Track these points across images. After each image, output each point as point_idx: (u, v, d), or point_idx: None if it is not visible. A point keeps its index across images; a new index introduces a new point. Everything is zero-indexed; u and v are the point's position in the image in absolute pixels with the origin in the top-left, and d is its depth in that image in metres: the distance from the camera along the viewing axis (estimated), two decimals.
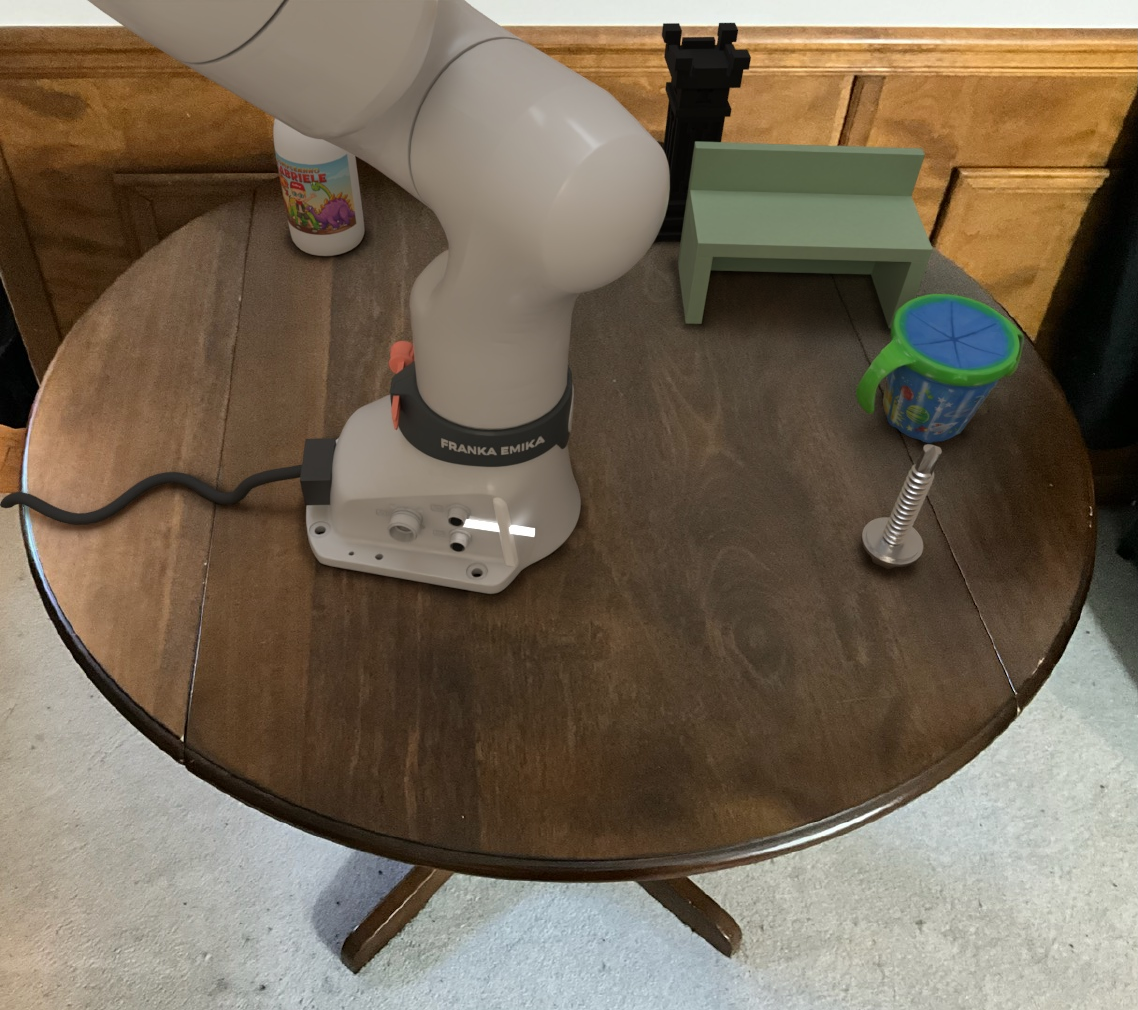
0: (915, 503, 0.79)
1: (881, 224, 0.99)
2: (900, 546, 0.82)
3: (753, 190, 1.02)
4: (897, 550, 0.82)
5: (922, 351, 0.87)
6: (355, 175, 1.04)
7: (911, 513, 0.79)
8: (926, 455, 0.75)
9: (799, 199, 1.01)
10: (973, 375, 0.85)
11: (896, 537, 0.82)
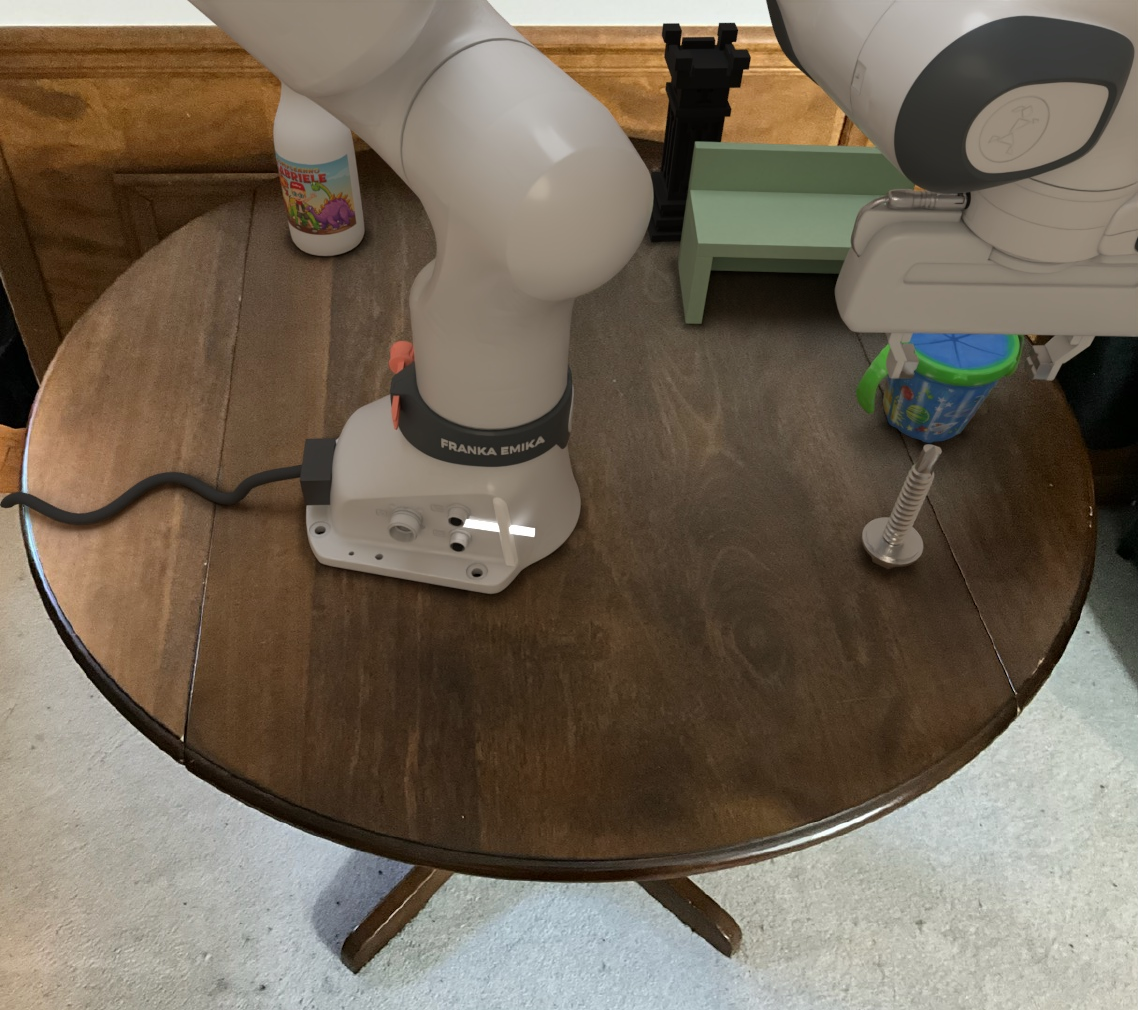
0: (915, 503, 0.79)
1: None
2: (900, 546, 0.82)
3: (753, 190, 1.02)
4: (897, 550, 0.82)
5: (922, 351, 0.87)
6: (355, 175, 1.04)
7: (911, 513, 0.79)
8: (926, 455, 0.75)
9: (799, 199, 1.01)
10: (973, 375, 0.85)
11: (896, 537, 0.82)
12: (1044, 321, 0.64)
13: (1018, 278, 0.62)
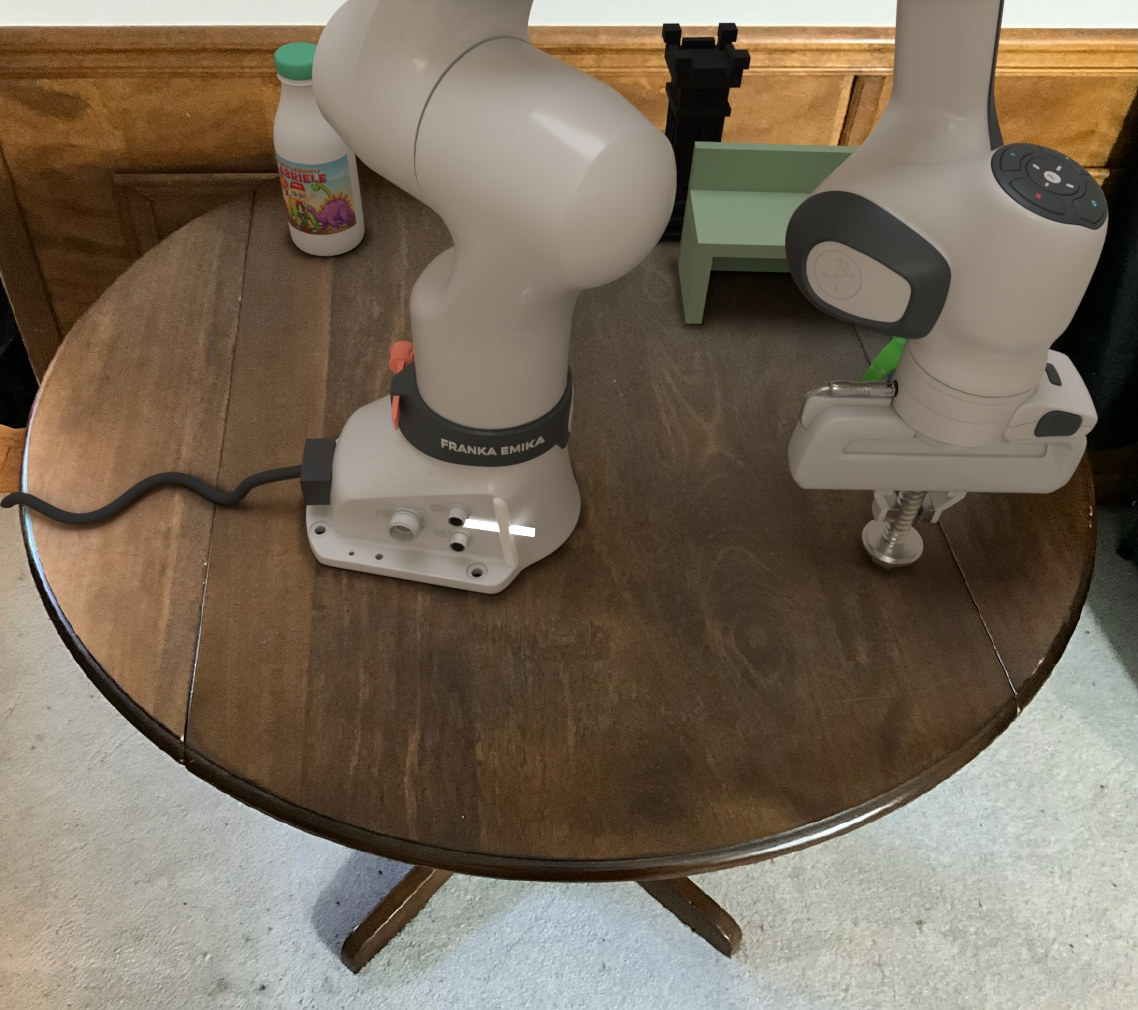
0: (915, 503, 0.79)
1: None
2: (900, 546, 0.82)
3: (753, 190, 1.02)
4: (897, 550, 0.82)
5: None
6: (355, 175, 1.04)
7: (911, 513, 0.79)
8: None
9: (799, 199, 1.01)
10: None
11: (896, 537, 0.82)
12: (964, 482, 0.75)
13: (940, 450, 0.73)
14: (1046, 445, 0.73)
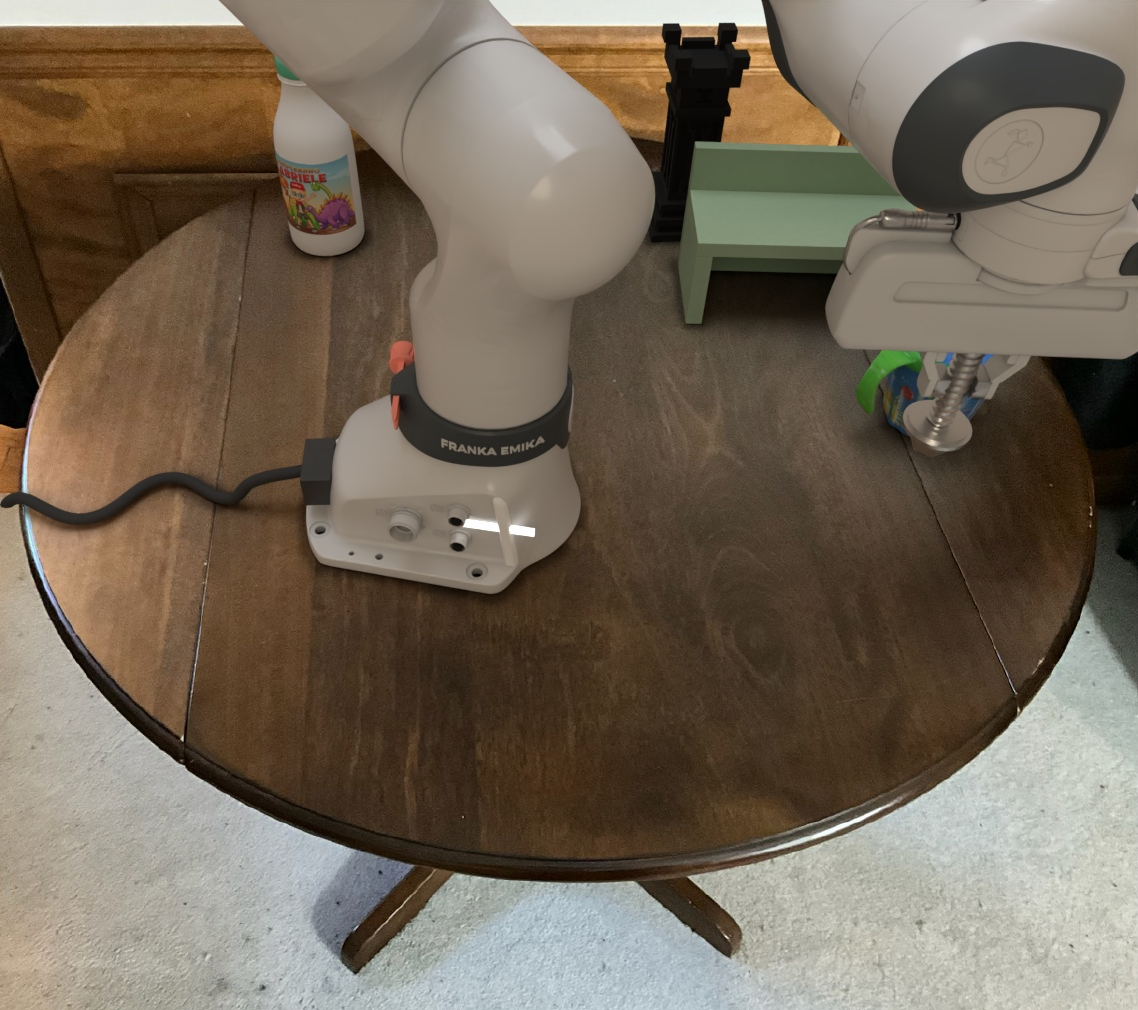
0: (968, 372, 0.69)
1: None
2: (947, 429, 0.72)
3: (753, 190, 1.02)
4: (943, 433, 0.72)
5: None
6: (355, 175, 1.04)
7: (962, 386, 0.69)
8: None
9: (799, 199, 1.01)
10: None
11: (943, 417, 0.72)
12: (1029, 342, 0.65)
13: (1005, 299, 0.63)
14: (1127, 294, 0.63)
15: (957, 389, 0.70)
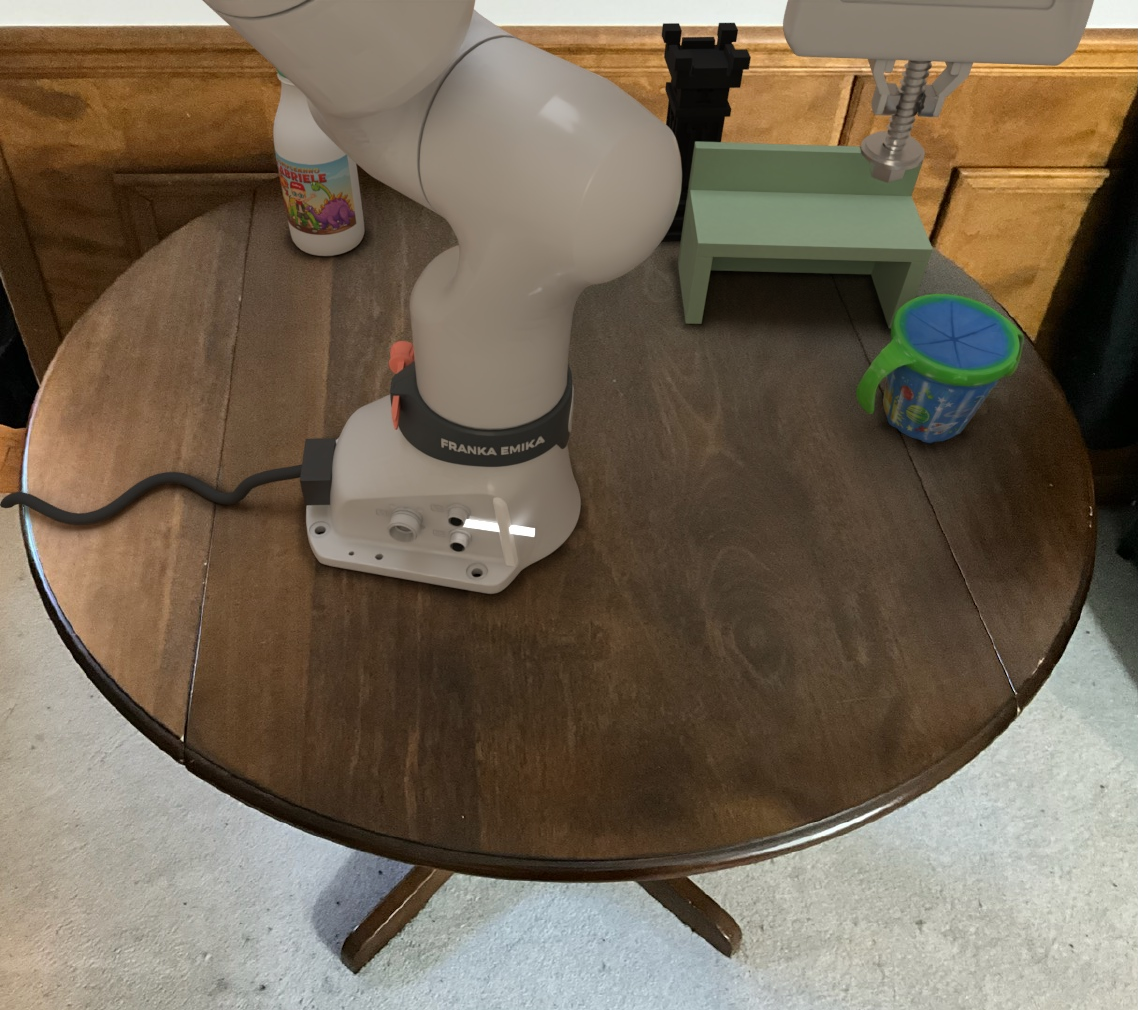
0: (916, 86, 0.75)
1: (881, 224, 0.99)
2: (900, 151, 0.79)
3: (753, 190, 1.02)
4: (897, 154, 0.79)
5: (922, 351, 0.87)
6: (355, 175, 1.04)
7: (912, 101, 0.76)
8: None
9: (799, 199, 1.01)
10: (973, 375, 0.85)
11: (896, 138, 0.78)
12: (968, 45, 0.72)
13: None
14: None
15: (907, 105, 0.76)
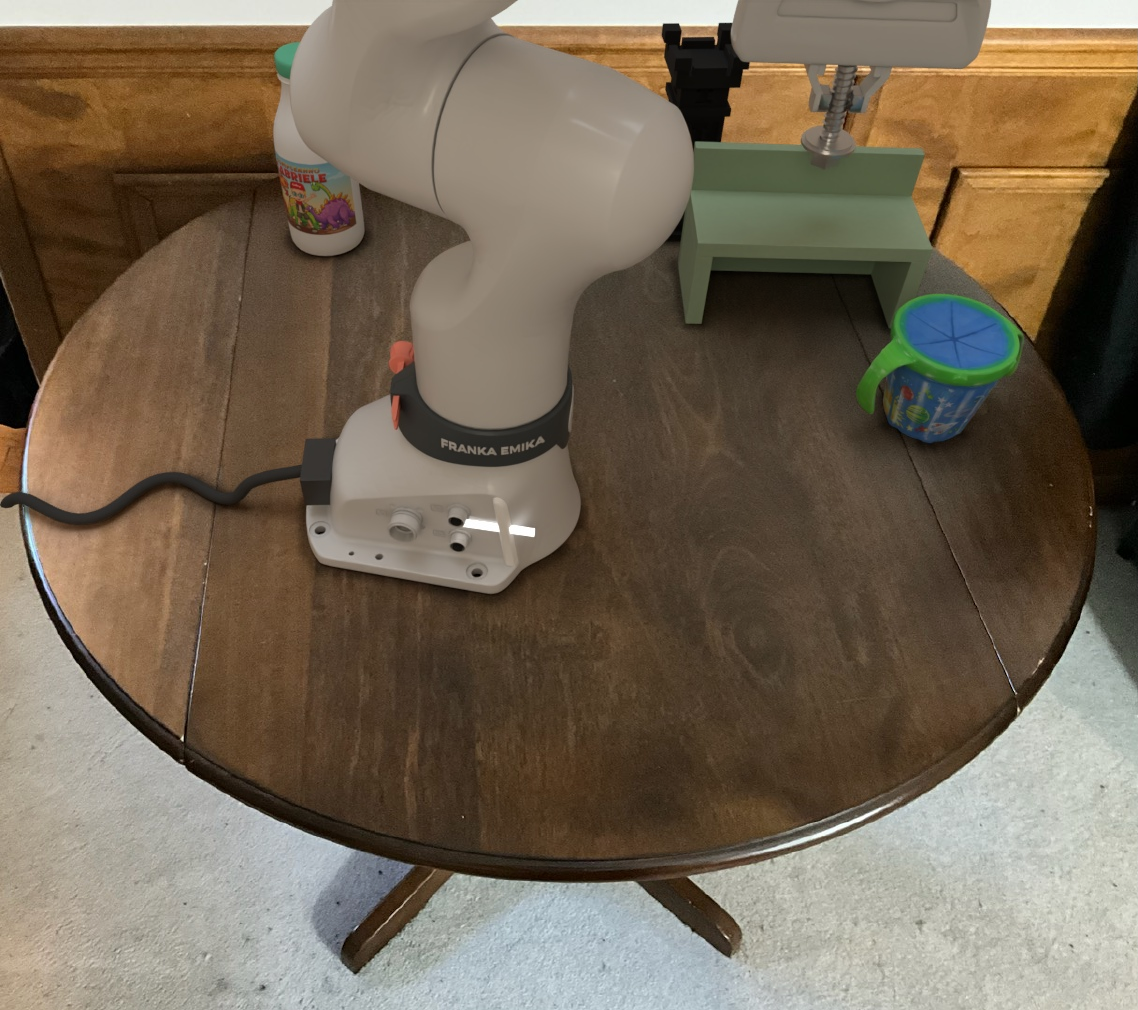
0: (845, 86, 0.88)
1: (881, 224, 0.99)
2: (834, 142, 0.92)
3: (753, 190, 1.02)
4: (831, 145, 0.92)
5: (922, 351, 0.87)
6: None
7: (842, 99, 0.89)
8: None
9: (799, 199, 1.01)
10: (973, 375, 0.85)
11: (830, 131, 0.91)
12: (886, 52, 0.85)
13: (863, 12, 0.83)
14: (956, 6, 0.82)
15: (838, 103, 0.89)
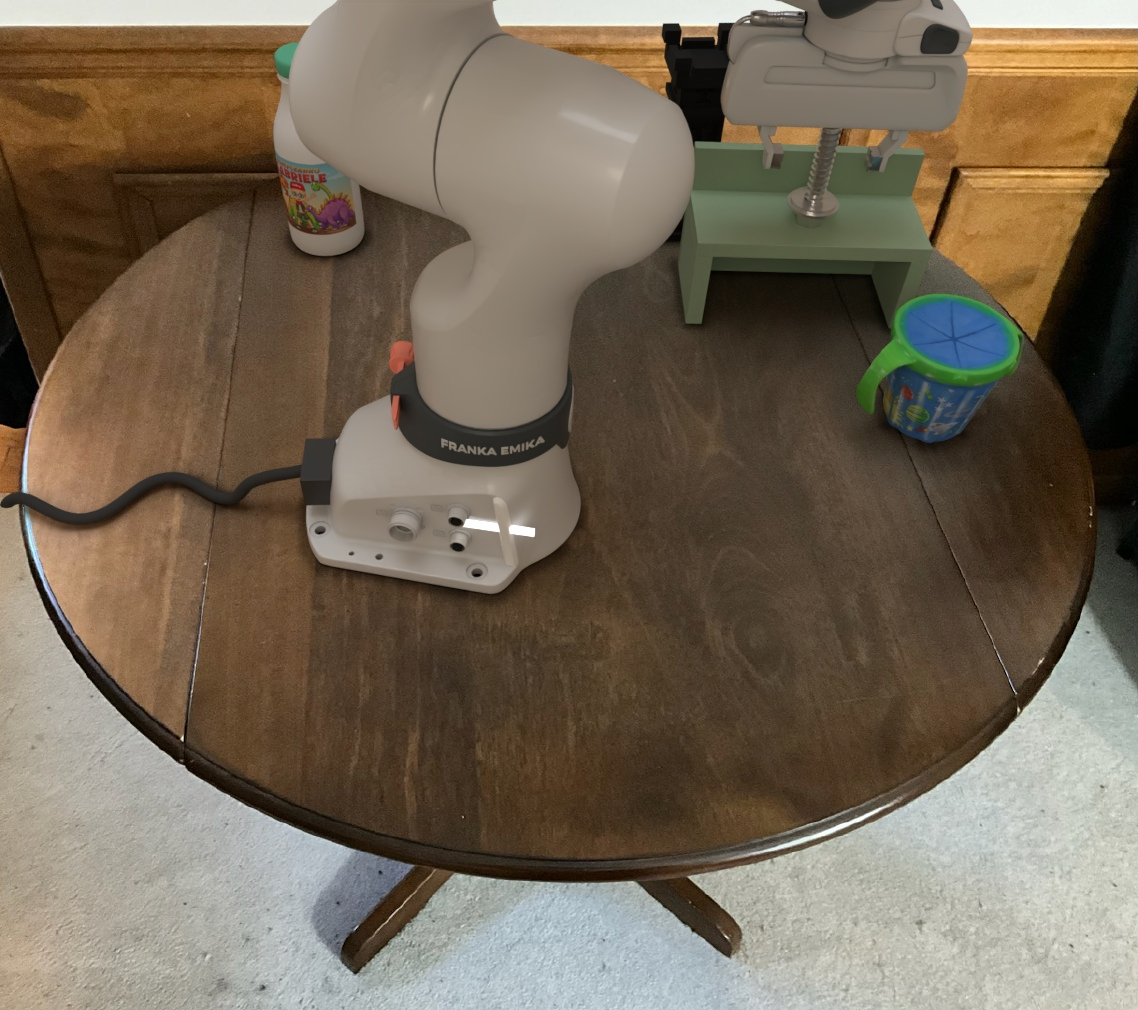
0: (828, 153, 0.93)
1: (881, 224, 0.99)
2: (819, 204, 0.97)
3: (753, 190, 1.02)
4: (816, 206, 0.96)
5: (922, 351, 0.87)
6: None
7: (825, 165, 0.94)
8: None
9: None
10: (973, 375, 0.85)
11: (815, 194, 0.96)
12: (868, 116, 0.89)
13: (846, 80, 0.87)
14: (935, 74, 0.86)
15: (822, 168, 0.94)
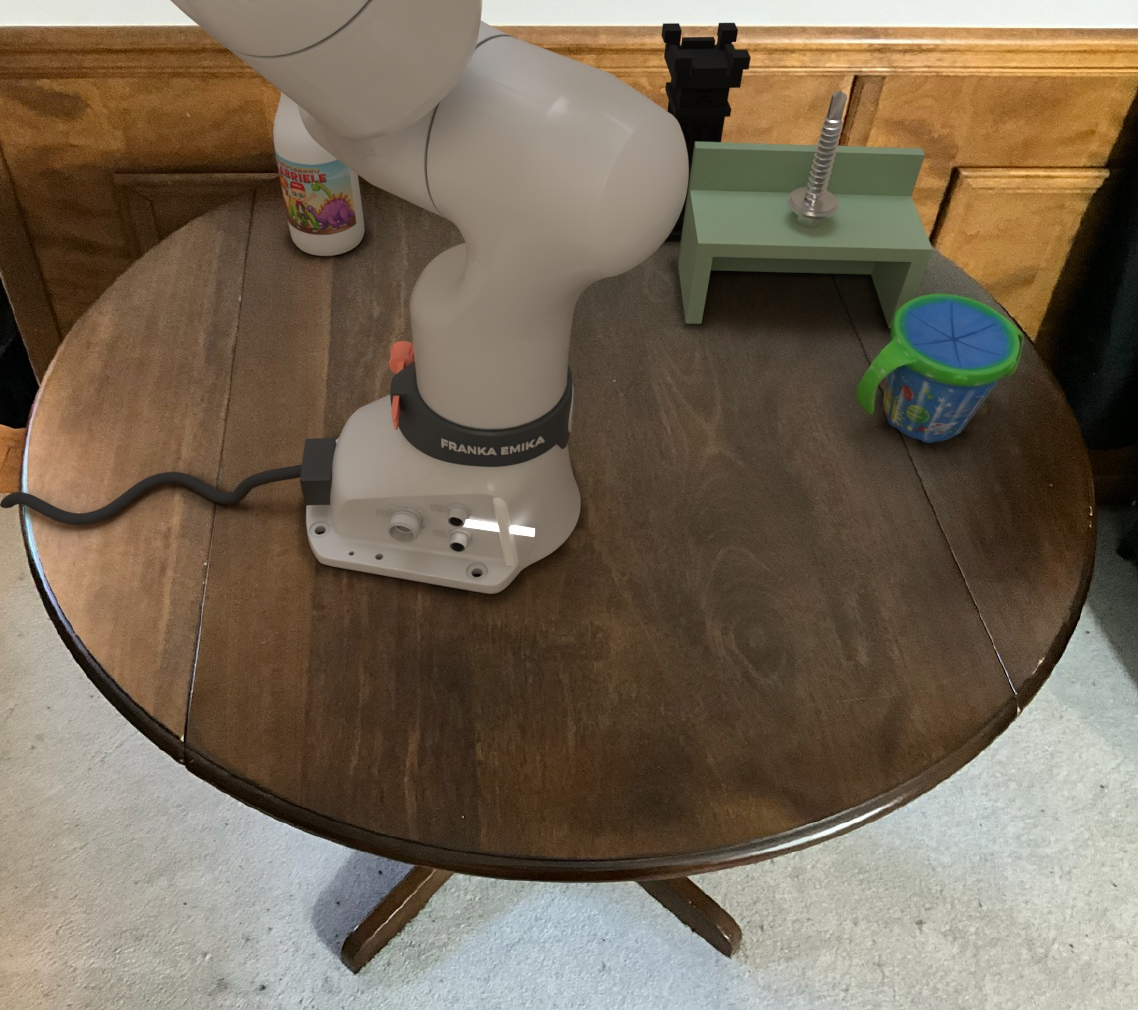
0: (828, 153, 0.93)
1: (881, 224, 0.99)
2: (819, 204, 0.97)
3: (753, 190, 1.02)
4: (816, 206, 0.96)
5: (922, 351, 0.87)
6: (355, 175, 1.04)
7: (825, 165, 0.94)
8: (834, 101, 0.90)
9: None
10: (973, 375, 0.85)
11: (815, 194, 0.96)
12: None
13: None
14: None
15: (822, 168, 0.94)
